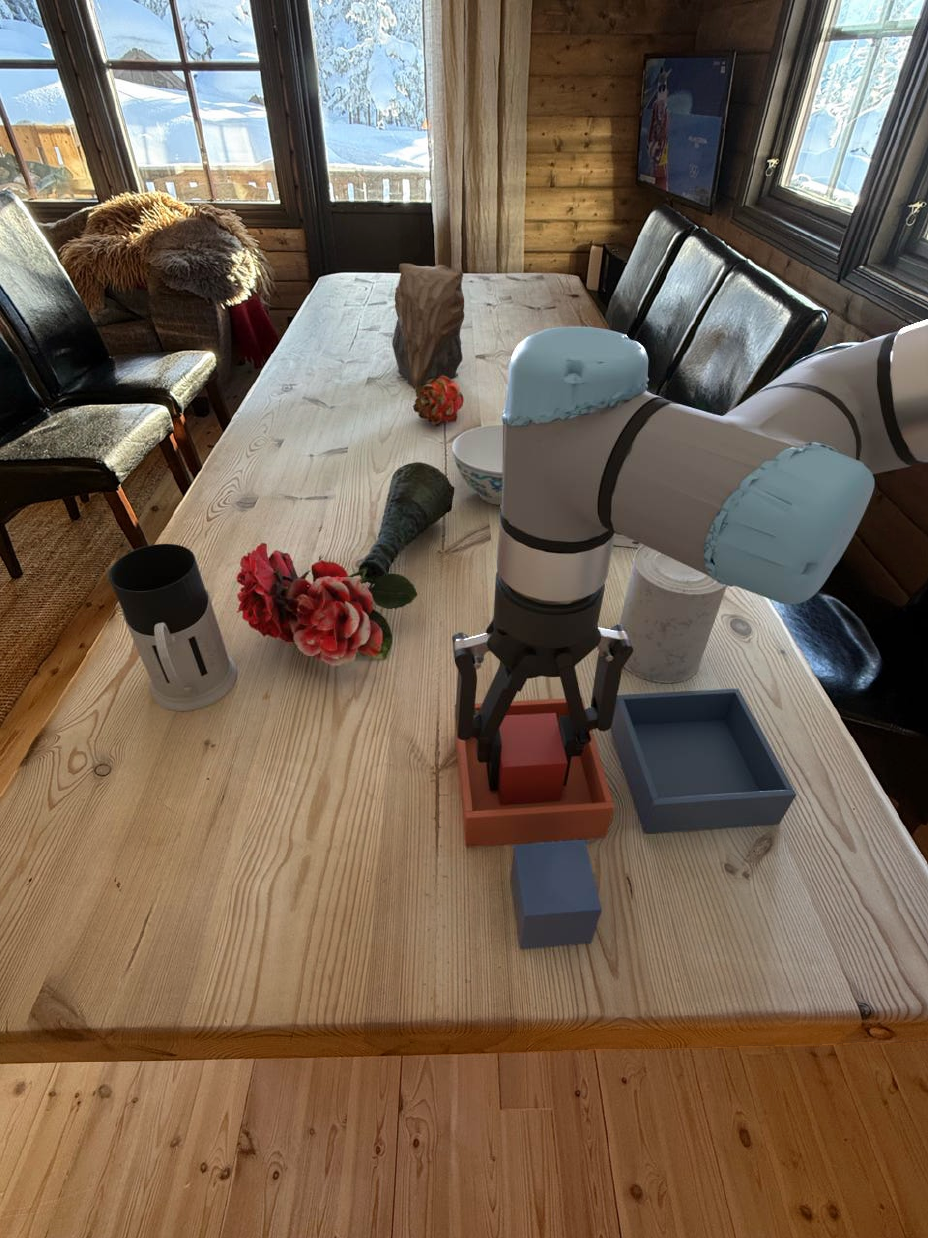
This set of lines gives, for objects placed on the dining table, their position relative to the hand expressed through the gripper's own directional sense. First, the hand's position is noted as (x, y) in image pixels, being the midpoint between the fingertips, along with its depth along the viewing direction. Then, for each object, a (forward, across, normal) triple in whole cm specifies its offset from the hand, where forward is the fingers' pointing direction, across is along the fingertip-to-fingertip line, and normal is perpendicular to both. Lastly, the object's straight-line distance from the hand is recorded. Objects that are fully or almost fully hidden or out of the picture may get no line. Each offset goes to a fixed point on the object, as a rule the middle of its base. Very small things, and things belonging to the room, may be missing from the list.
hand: (525, 775), depth 60 cm
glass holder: (+1, +32, -13) cm, 35 cm away
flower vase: (+1, +16, -30) cm, 34 cm away
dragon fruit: (+1, +4, -79) cm, 79 cm away
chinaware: (+1, -4, -52) cm, 52 cm away
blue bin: (+1, -16, 0) cm, 16 cm away
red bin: (+1, 0, 0) cm, 1 cm away
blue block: (+1, 0, +12) cm, 12 cm away
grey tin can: (+1, -18, -16) cm, 24 cm away
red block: (0, 0, 0) cm, 0 cm away
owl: (+1, +6, -100) cm, 100 cm away
